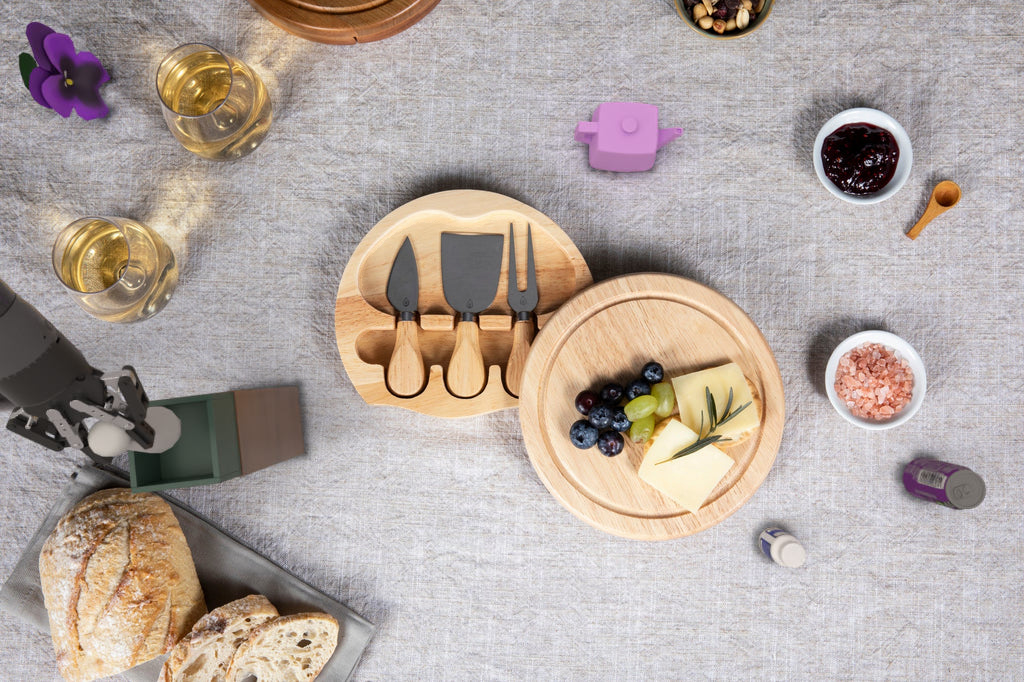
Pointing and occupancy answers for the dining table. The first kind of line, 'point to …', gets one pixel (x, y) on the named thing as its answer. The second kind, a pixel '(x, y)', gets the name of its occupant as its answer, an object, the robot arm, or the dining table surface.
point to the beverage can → (944, 483)
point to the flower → (62, 74)
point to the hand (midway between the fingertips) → (130, 450)
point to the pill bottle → (782, 547)
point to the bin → (192, 446)
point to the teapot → (624, 136)
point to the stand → (267, 426)
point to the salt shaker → (116, 441)
